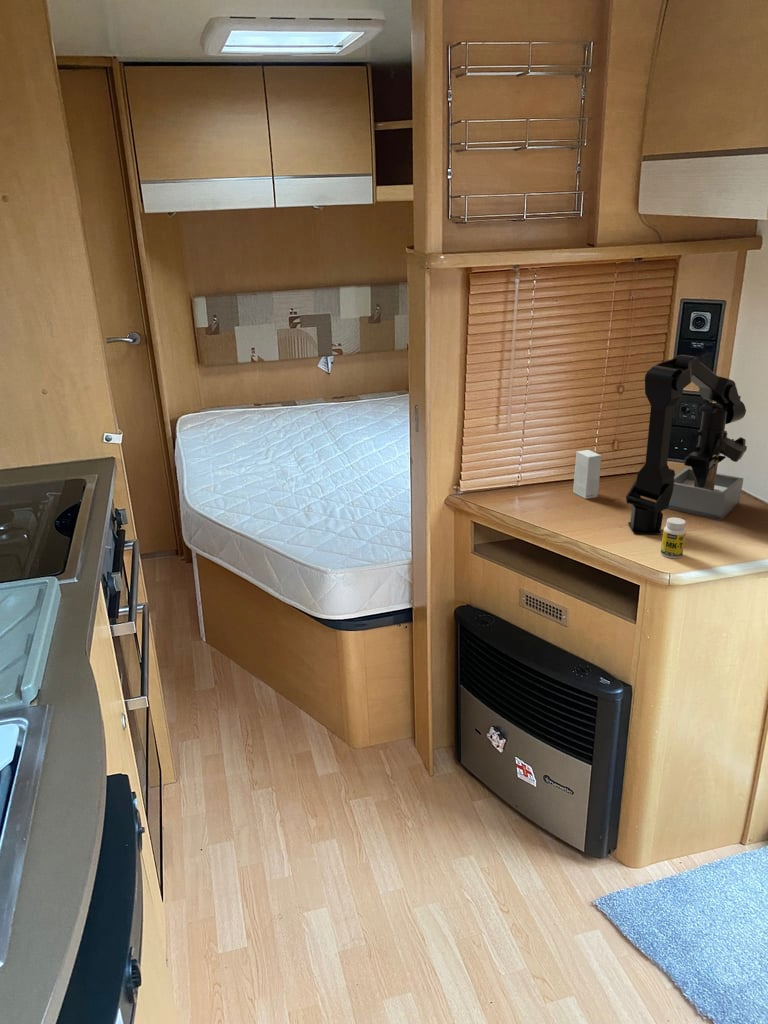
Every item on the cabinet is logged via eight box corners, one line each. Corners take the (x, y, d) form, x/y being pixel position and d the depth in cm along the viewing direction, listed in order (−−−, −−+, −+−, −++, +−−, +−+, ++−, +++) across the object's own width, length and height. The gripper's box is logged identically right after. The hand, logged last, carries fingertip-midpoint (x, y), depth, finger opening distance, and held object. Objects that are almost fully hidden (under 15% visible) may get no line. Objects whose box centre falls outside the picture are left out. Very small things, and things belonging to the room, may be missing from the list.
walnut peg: (707, 499, 202) (713, 463, 198) (692, 496, 204) (697, 460, 201) (712, 495, 205) (718, 459, 201) (697, 492, 207) (702, 456, 203)
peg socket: (720, 520, 196) (725, 494, 193) (662, 507, 205) (665, 481, 202) (739, 503, 206) (743, 478, 204) (682, 491, 215) (686, 467, 213)
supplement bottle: (662, 558, 176) (666, 524, 173) (658, 549, 180) (663, 516, 177) (684, 559, 175) (689, 525, 172) (680, 550, 179) (685, 517, 176)
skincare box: (598, 497, 212) (602, 455, 207) (585, 499, 210) (588, 457, 206) (585, 490, 217) (588, 449, 213) (572, 492, 216) (575, 451, 211)
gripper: (734, 441, 186) (724, 502, 192) (756, 424, 200) (746, 481, 205) (687, 433, 193) (679, 492, 199) (712, 417, 206) (704, 473, 212)
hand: (703, 485), depth 203 cm, fingers closed on walnut peg, 4 cm apart
